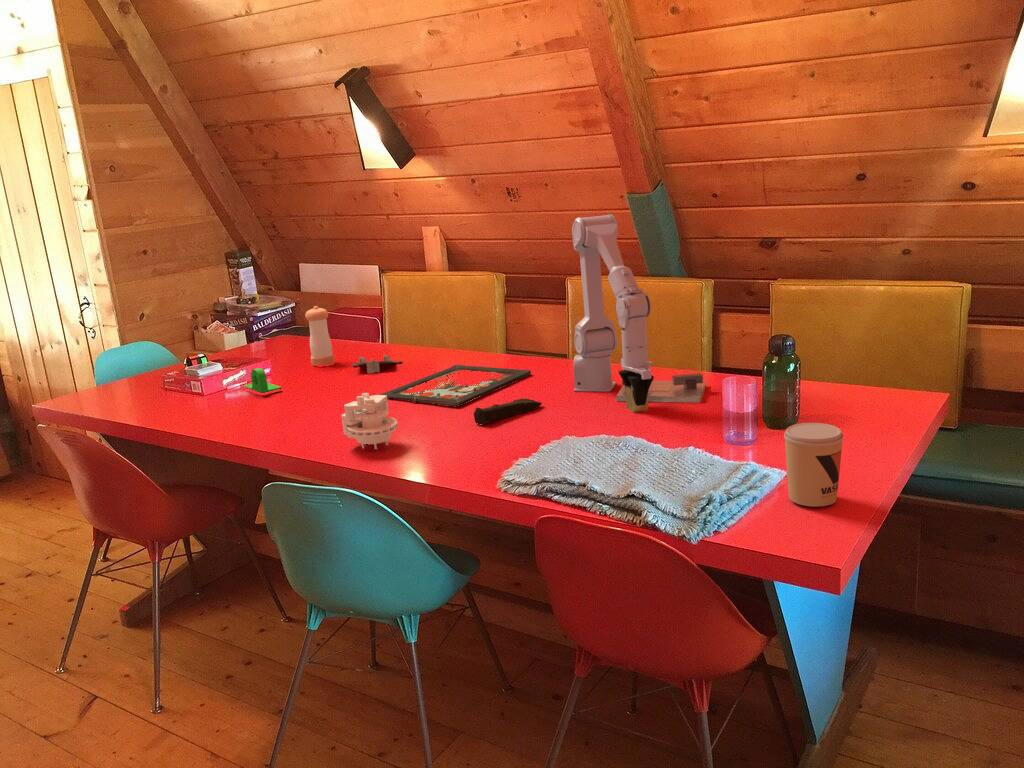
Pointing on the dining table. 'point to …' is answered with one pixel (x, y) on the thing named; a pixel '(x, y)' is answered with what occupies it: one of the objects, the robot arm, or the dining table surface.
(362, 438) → the mechanical part
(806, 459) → the coffee cup
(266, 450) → the dining table surface
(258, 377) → the mechanical part
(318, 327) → the salt shaker
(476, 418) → the hand tool
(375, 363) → the metal bracket
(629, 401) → the tan block with knob
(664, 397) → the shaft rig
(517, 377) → the painting
